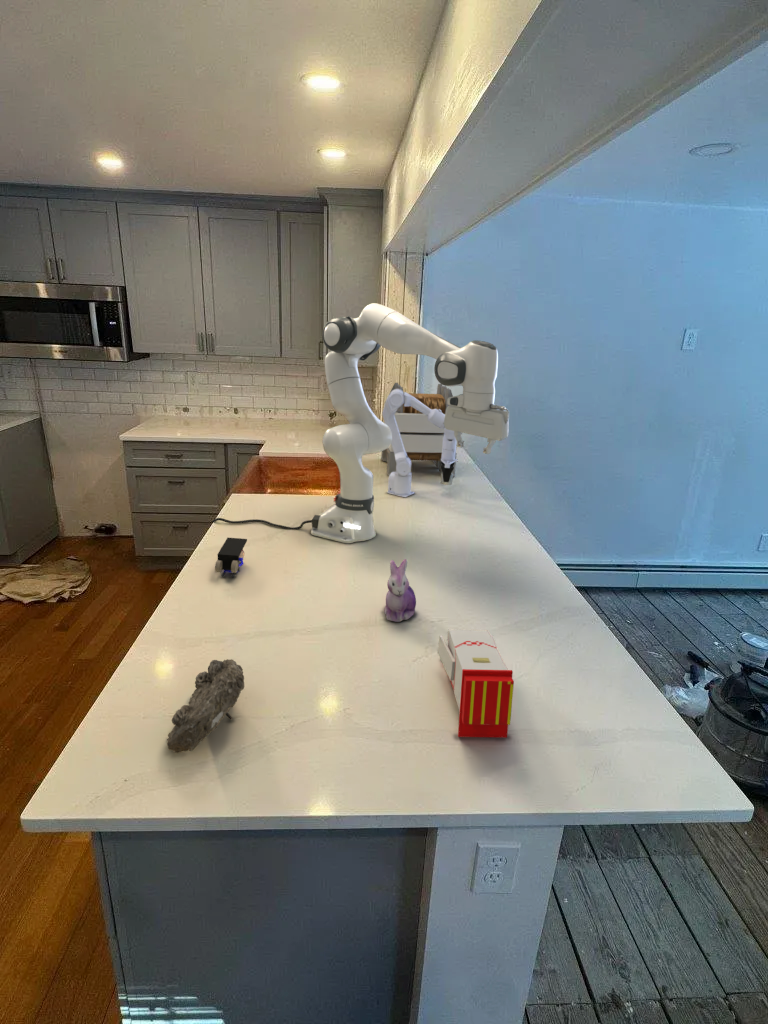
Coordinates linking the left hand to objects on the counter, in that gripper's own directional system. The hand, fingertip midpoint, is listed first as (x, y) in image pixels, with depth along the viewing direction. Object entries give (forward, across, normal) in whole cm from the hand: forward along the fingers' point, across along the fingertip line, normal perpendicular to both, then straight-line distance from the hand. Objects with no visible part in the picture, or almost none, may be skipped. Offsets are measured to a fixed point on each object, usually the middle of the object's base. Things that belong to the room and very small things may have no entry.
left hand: (473, 450), depth 163 cm
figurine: (+37, -7, +35) cm, 52 cm away
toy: (+37, -38, +48) cm, 72 cm away
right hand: (+30, +48, -52) cm, 77 cm away
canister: (+32, +48, -52) cm, 78 cm away
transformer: (+38, +87, -77) cm, 122 cm away
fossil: (+37, -10, +90) cm, 98 cm away
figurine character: (+37, +44, +54) cm, 79 cm away
